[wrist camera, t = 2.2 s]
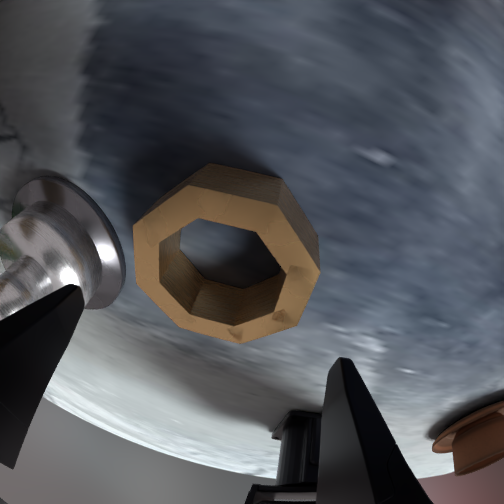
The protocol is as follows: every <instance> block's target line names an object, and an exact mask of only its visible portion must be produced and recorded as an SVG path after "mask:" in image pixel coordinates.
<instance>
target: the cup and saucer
mask: <svg viewBox="0 0 504 504" xmlns="http://www.w3.org/2000/svg"><path fill="white" fill-rule="evenodd" d="M432 451H433V452H435V453H449V452H453V460H454V470H455V476H462V475H466V474H469V473H472V472H475V471H477V470H480V469H482V468H485V467H487V466H489V465H491V464H493V463H495V462H497V461H499V460H500V459H502V458H504V401H500V402H497V403H494V404H491V405H489V406H486V407H484V408H482V409H479V410H477V411H475V412H473V413H471V414H469V415H468V416H466V417H464V418H462V419H460V420H459V421H457V422H456V423H454V424H453V425H451V426H450V427H448V428H447V429H446V430H445V431H443V432H442V433H441V434H440V435H439V436H438V437H437V439H436V440H435V442H434V443H433V445H432Z"/></svg>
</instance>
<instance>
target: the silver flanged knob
mask: <svg viewBox="0 0 504 504" xmlns="http://www.w3.org/2000/svg"><path fill="white" fill-rule="evenodd" d="M0 256H1V260H2V263H3V265H4V268H5V271H4V272H3V273H2V274H1V275H0V320H2V319H4V318H5V317H7V316H9V315H11V314H13V313H14V312H16V311H18V310H20V309H22V308H24V307H25V306H27V305H29V304H31V303H33V302H35V301H37V300H38V299H40V298H42V297H44V296H46V295H48V294H50V293H52V292H54V291H56V290H58V289H59V288H61V287H63V286H65V285H67V284H70V283H73V284H76V285H78V286H80V287H81V289H82V293H83V297H84V301H85V307H84V309H101V308H105V307H107V306H109V305H110V304H111V303H113V301H114V300H115V299H116V298H117V296H118V295H119V293H120V292H121V290H122V288H123V286H124V282H125V276H126V265H125V259H124V254H123V251H122V247H121V244H120V242H119V239H118V237H117V235H116V233H115V231H114V229H113V227H112V225H111V224H110V222H109V220H108V219H107V217H106V216H105V214H104V213H103V212H102V210H101V209H100V208H99V207H98V205H97V204H96V203H95V202H94V201H93V200H92V199H91V198H90V197H89V196H88V195H87V194H86V193H85V192H84V191H82V190H81V189H80V188H78V187H77V186H75V185H74V184H72V183H71V182H69V181H66V180H64V179H62V178H58V177H55V176H41V177H38V178H35V179H34V180H32V181H30V182H29V183H27V184H26V185H24V186H23V187H22V188H21V189H20V190H19V192H18V193H17V195H16V197H15V200H14V203H13V209H12V219H11V220H10V221H9V222H8V223H6V224H5V225H4V226H3V227H2V228H1V230H0Z"/></svg>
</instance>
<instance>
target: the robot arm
mask: <svg viewBox="0 0 504 504" xmlns="http://www.w3.org/2000/svg"><path fill="white" fill-rule="evenodd" d="M84 307H85V301H84V297H83V293H82V289H81V287H80V286H78V285H76V284H73V283H70V284H67V285H65V286H63V287H61V288H59V289H58V290H56V291H54V292H52V293H50V294H48V295H46V296H44V297H42V298H40V299H38V300H37V301H35V302H33V303H31V304H29V305H27V306H25V307H24V308H22V309H20V310H18V311H16V312H14V313H13V314H11V315H9V316H7V317H5V318H4V319H2V320H0V463H2V464H3V465H5V466H7V467H9V468H11V469H14V467H15V464H16V461H17V458H18V455H19V452H20V449H21V447H22V444H23V442H24V439H25V436H26V434H27V431H28V428H29V426H30V424H31V421H32V419H33V416H34V414H35V412H36V409H37V407H38V405H39V403H40V400H41V398H42V396H43V394H44V392H45V390H46V387H47V385H48V383H49V381H50V379H51V377H52V375H53V373H54V371H55V369H56V367H57V365H58V363H59V361H60V359H61V357H62V355H63V354H64V352H65V350H66V348H67V346H68V344H69V342H70V340H71V337H72V335H73V333H74V330H75V328H76V326H77V323H78V321H79V319H80V316H81V314H82V312H83V310H84ZM272 439H275V440H281V448H280V456H279V463H278V471H277V478H276V485H275V486H270V485H269V486H268V485H260V484H253V485H252V487H251V490H250V491H249V493H248V496H247V499H246V501H245V504H433V502H432V501H431V500H430V499H429V497H428V496H427V494H426V493H425V491H424V489H423V488H422V486H421V485H420V483H419V482H418V480H417V479H416V477H415V476H414V474H413V472H412V471H411V469H410V467H409V466H408V464H407V462H406V461H405V459H404V457H403V455H402V453H401V451H400V449H399V447H398V445H397V444H396V442H395V440H394V438H393V436H392V434H391V432H390V430H389V428H388V426H387V424H386V422H385V421H384V419H383V417H382V415H381V413H380V411H379V409H378V407H377V406H376V404H375V402H374V400H373V398H372V396H371V394H370V392H369V391H368V389H367V387H366V385H365V383H364V381H363V380H362V378H361V376H360V374H359V372H358V371H357V369H356V367H355V365H354V363H353V361H352V360H351V359H349V358H343V357H339V358H338V359H337V360H336V362H335V363H334V364H333V366H332V367H331V369H330V370H329V373H328V376H327V384H326V391H325V398H324V404H323V411H322V414H314V413H307V412H300V411H290V412H289V413H288V414H287V416H286V417H285V418H284V419H283V421H282V422H281V423H280V424H279V426H278V427H277V428H276V429H275V431H274V432H273V433H272ZM274 499H316V501H305V502H304V501H303V502H301V501H298V502H297V501H295V502H293V501H289V502H288V501H274ZM0 504H7V503H6V502H5V501H4V500H3V499H1V498H0Z"/></svg>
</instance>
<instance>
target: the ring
mask: <svg viewBox="0 0 504 504" xmlns="http://www.w3.org/2000/svg"><path fill="white" fill-rule="evenodd" d="M197 218H201V219H205V220H209V221H213V222H218V223H222V224H226V225H230V226H234V227H238V228H242V229H247V230H251V231H255V232H257V234H258V235H259V236H260V238H261V239H262V241H263V242H264V243H265V245H266V246H267V248H268V249H269V250H270V252H271V253H272V255H273V256H274V257H275V259H276V260H277V262H278V263H279V264H280V266H281V269H280V272H279V274H278V275H276V276H274V277H271V278H269V279H267V280H264V281H262V282H260V283H257V284H255V285H252V286H250V287H248V288H245V289H242V288H238V287H234V286H230V285H226V284H222V283H218V282H214V281H211V280H207V279H205V278H204V277H203V276H202V275H201V274H200V273H199V272H198V270H197V269H196V268H195V267H194V266H193V265H192V263H191V262H190V261H189V260H188V259H187V258H186V256H185V255H184V254H183V253H182V252H181V250H180V233H181V228H183V227H184V226H186V225H187V224H189V223H191V222H192V221H194V220H195V219H197ZM133 240H134V258H135V273H136V284H137V285H138V286H139V287H140V288H141V289H142V290H143V291H144V292H145V293H146V294H147V295H148V296H149V297H150V298H151V299H152V300H153V301H154V303H155V304H156V305H157V306H158V307H159V308H160V309H161V310H162V311H163V312H164V313H165V314H166V315H167V316H168V317H169V318H170V319H171V320H172V321H173V322H174V323H175V324H176V325H177V326H179V327H180V328H183V329H187V330H190V331H194V332H197V333H201V334H204V335H208V336H212V337H215V338H219V339H223V340H227V341H231V342H235V343H239V344H241V343H245V342H248V341H251V340H255V339H258V338H261V337H264V336H267V335H270V334H274V333H277V332H280V331H283V330H286V329H289V328H292V327H295V326H297V324H298V322H299V320H300V318H301V316H302V313H303V311H304V309H305V307H306V304H307V302H308V300H309V297H310V295H311V293H312V291H313V288H314V286H315V284H316V281H317V279H318V276H319V274H320V259H319V244H318V235H317V234H316V232H315V230H314V229H313V227H312V225H311V224H310V222H309V220H308V219H307V217H306V216H305V214H304V212H303V211H302V209H301V208H300V206H299V204H298V203H297V201H296V200H295V198H294V196H293V195H292V193H291V192H290V190H289V189H288V187H287V185H286V184H285V182H284V181H283V179H280V178H276V177H272V176H268V175H264V174H260V173H256V172H251V171H247V170H242V169H238V168H233V167H229V166H224V165H219V164H214V163H208V164H207V165H205V166H204V167H203V168H201V169H200V170H198V171H197V172H195V173H194V174H192V175H191V176H190V177H188V178H187V179H185V180H184V181H183V182H181V183H180V184H178V185H177V186H176V187H174V188H173V189H171V190H170V191H169V192H167V193H166V194H165V195H163V196H162V197H161V198H159V199H158V200H157V201H156V202H155V203H154V204H153V205H152V206H151V207H150V208H149V209H148V210H147V212H146V213H145V214H144V215H143V216H142V217H141V218H140V219H139V220H138V221H137V222H136V223H135V224H134V225H133Z"/></svg>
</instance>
